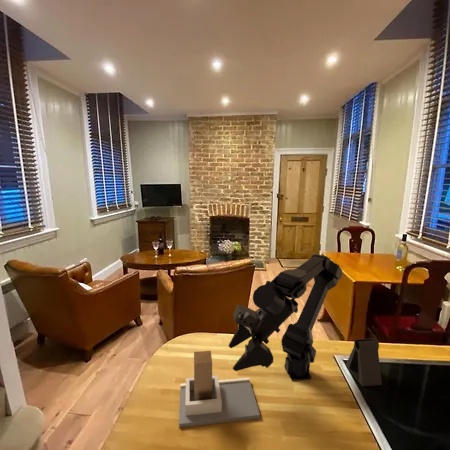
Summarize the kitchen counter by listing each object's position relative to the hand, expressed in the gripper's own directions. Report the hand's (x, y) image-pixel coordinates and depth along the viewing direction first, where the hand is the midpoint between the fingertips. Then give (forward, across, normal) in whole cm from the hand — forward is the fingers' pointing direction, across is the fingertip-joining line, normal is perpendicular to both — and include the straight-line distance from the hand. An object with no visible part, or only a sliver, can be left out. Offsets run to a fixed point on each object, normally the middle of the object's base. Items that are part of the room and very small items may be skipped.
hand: (231, 357), depth 69 cm
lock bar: (+14, 0, +2) cm, 14 cm away
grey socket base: (+12, 0, +6) cm, 13 cm away
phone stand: (-20, -6, +39) cm, 44 cm away
